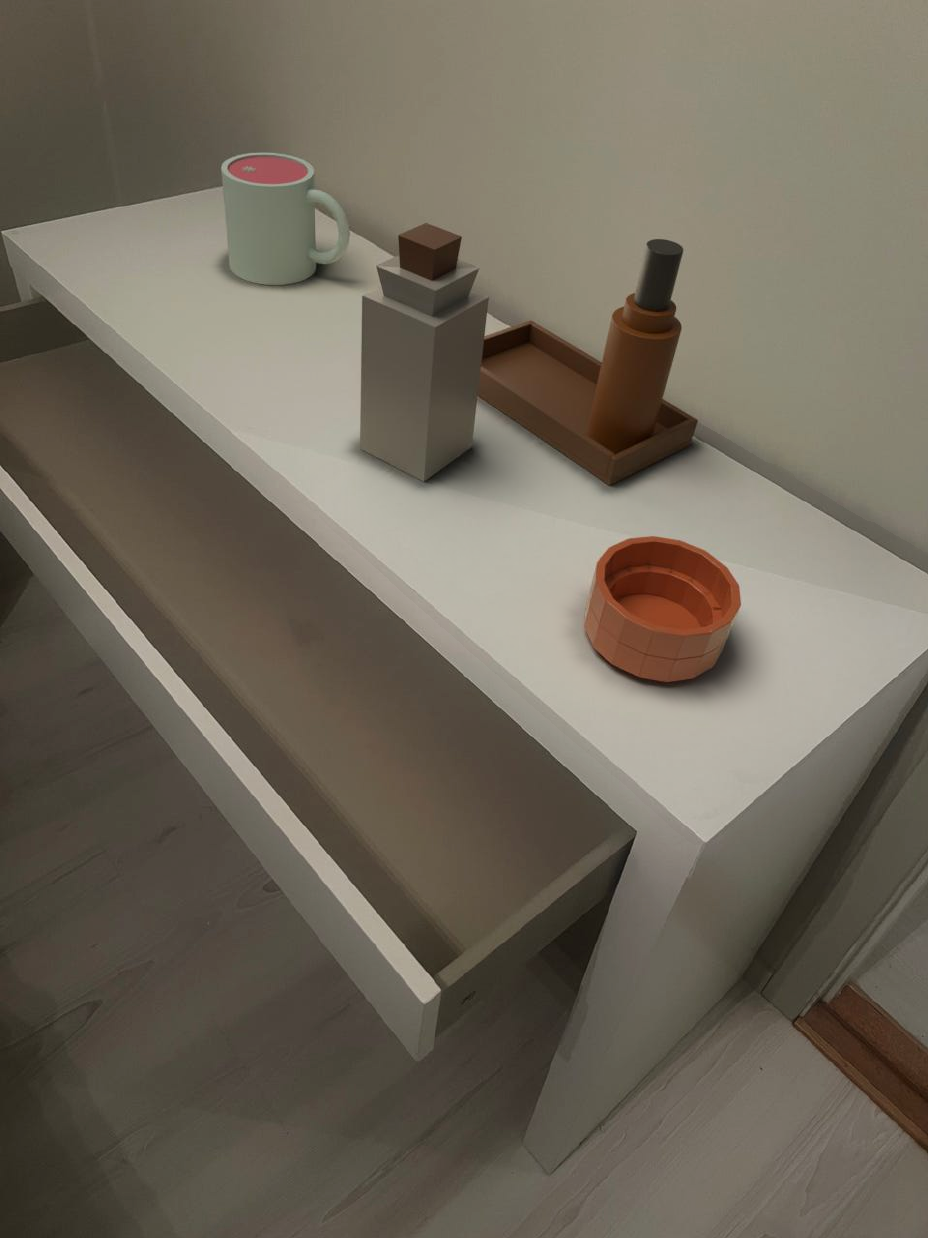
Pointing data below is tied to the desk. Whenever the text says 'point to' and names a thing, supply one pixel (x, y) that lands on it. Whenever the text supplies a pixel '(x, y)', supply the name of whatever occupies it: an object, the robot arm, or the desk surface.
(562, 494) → the desk surface
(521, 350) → the tray
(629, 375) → the bottle
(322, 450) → the desk surface
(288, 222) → the mug
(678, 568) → the bowl
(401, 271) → the perfume bottle
